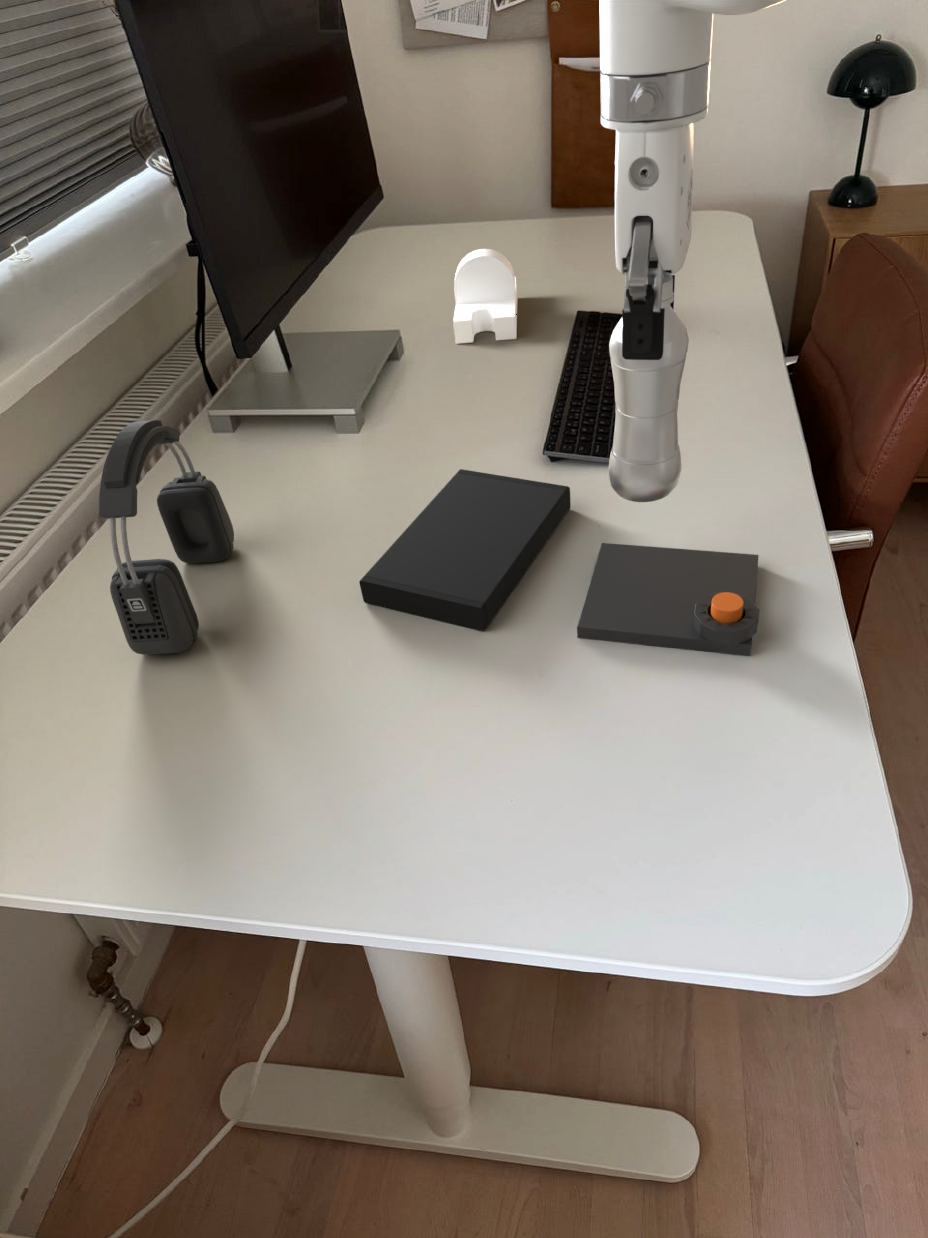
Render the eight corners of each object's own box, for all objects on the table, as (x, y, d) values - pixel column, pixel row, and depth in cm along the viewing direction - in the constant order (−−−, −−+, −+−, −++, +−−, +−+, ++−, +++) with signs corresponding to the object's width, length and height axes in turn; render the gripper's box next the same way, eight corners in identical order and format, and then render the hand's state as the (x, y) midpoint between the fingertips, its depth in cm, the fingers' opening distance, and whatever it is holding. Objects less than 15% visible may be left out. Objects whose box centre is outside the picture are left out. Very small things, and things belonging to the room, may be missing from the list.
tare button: (742, 606, 83) (744, 593, 82) (741, 625, 81) (742, 612, 80) (711, 603, 84) (712, 590, 83) (709, 622, 82) (710, 609, 81)
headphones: (190, 663, 89) (120, 492, 77) (130, 666, 90) (50, 498, 77) (241, 536, 106) (190, 379, 94) (190, 540, 107) (133, 384, 94)
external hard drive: (363, 602, 94) (358, 580, 92) (461, 489, 109) (459, 468, 107) (485, 632, 88) (482, 608, 86) (570, 508, 103) (570, 486, 101)
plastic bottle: (597, 484, 86) (593, 275, 73) (661, 467, 87) (668, 258, 74) (626, 518, 81) (627, 300, 68) (693, 499, 82) (707, 281, 69)
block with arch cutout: (516, 338, 142) (511, 268, 135) (455, 343, 143) (447, 274, 136) (517, 297, 156) (512, 231, 149) (462, 302, 157) (454, 237, 150)
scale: (760, 565, 91) (763, 541, 89) (754, 659, 81) (757, 634, 79) (601, 553, 96) (601, 530, 94) (576, 640, 86) (575, 616, 84)
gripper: (697, 121, 56) (683, 387, 67) (718, 68, 68) (703, 300, 80) (578, 128, 58) (584, 385, 69) (619, 75, 70) (619, 300, 82)
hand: (648, 338), depth 74 cm, fingers closed on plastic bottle, 6 cm apart
